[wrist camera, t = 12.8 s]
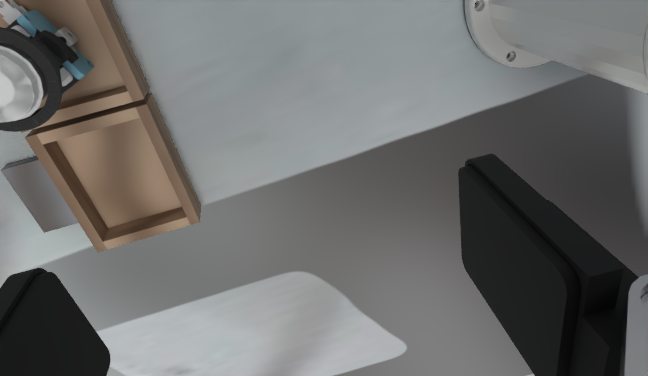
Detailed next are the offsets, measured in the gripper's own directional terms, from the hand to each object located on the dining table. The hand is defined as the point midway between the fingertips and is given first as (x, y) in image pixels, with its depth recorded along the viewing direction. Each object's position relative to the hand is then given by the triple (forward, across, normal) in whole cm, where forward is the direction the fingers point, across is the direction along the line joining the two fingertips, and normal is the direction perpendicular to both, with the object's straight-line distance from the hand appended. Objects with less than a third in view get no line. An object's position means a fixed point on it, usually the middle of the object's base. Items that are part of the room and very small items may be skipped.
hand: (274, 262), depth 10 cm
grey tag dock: (+25, +15, +7) cm, 30 cm away
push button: (+25, +14, -3) cm, 29 cm away
